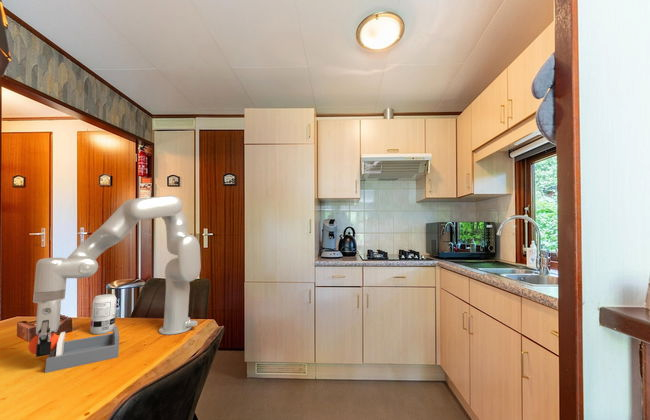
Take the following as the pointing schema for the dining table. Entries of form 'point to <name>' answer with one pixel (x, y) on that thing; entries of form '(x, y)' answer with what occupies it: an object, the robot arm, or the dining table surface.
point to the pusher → (60, 344)
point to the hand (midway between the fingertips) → (44, 350)
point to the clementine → (34, 342)
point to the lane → (84, 351)
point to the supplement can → (103, 314)
